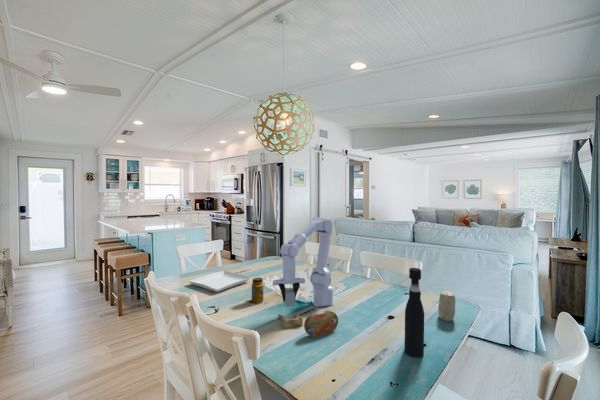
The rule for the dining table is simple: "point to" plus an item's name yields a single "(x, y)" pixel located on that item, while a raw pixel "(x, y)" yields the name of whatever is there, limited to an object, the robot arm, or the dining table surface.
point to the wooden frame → (291, 321)
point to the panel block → (289, 297)
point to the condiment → (257, 292)
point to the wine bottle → (414, 317)
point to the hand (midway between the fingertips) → (288, 299)
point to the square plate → (220, 280)
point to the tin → (320, 323)
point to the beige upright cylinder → (446, 306)
